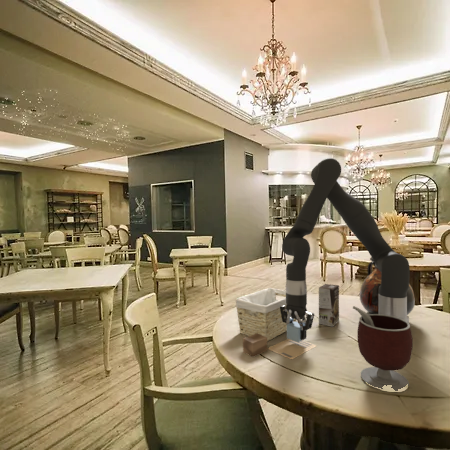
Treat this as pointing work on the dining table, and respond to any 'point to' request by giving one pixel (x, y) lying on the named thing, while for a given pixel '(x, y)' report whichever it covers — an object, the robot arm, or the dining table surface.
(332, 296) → the coffee box
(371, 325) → the mate gourd
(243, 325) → the storage basket
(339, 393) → the dining table surface
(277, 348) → the letter
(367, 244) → the robot arm
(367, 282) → the amphora vase
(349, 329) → the dining table surface
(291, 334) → the slate cube
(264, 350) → the walnut block
